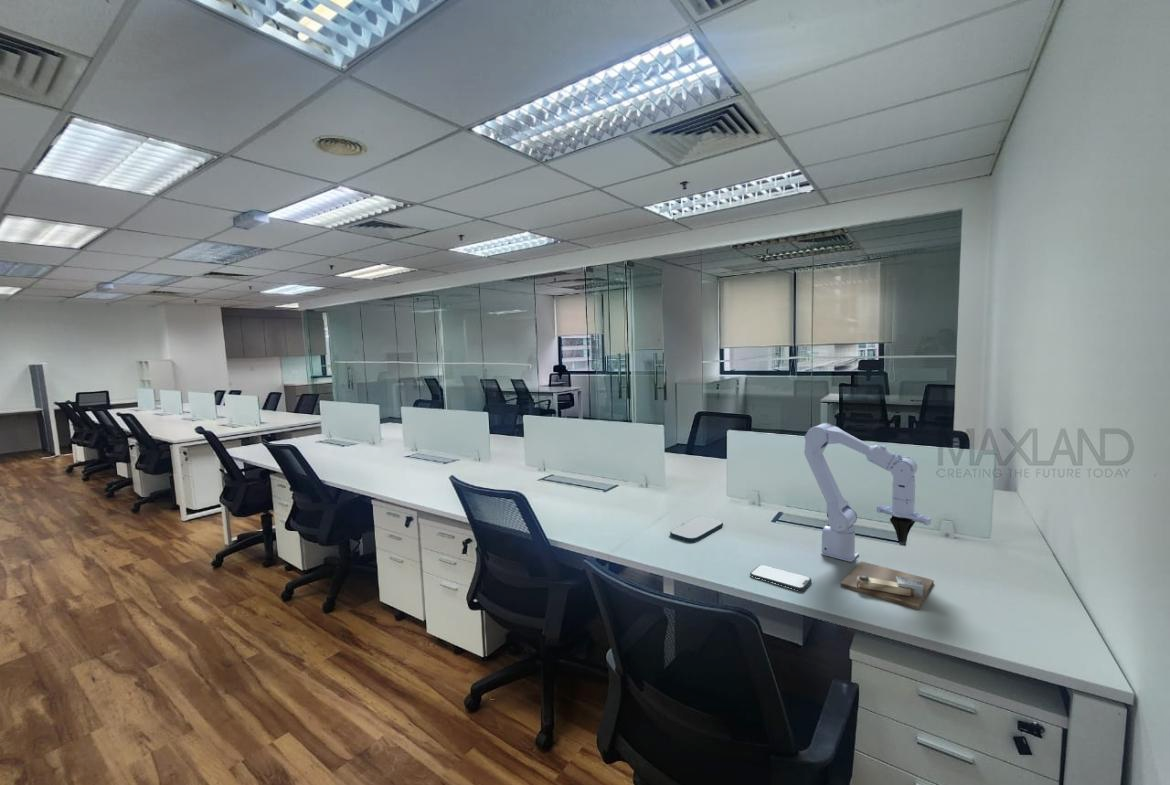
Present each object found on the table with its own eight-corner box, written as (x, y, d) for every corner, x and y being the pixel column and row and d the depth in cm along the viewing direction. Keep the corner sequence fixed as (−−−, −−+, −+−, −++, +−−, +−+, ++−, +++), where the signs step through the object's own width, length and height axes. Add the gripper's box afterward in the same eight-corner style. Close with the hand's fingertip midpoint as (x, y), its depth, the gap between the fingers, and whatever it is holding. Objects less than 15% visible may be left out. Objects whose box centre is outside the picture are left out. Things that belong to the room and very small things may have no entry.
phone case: (748, 578, 149) (802, 594, 139) (748, 573, 149) (802, 589, 138) (760, 568, 156) (812, 582, 145) (760, 563, 156) (812, 577, 145)
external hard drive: (693, 545, 175) (693, 539, 175) (666, 537, 183) (666, 531, 183) (726, 526, 191) (726, 521, 191) (700, 519, 200) (700, 515, 199)
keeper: (897, 595, 134) (898, 583, 133) (895, 588, 138) (895, 576, 137) (923, 599, 131) (923, 587, 131) (920, 591, 135) (920, 579, 135)
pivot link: (856, 587, 138) (856, 578, 138) (856, 582, 141) (856, 573, 141) (910, 597, 132) (911, 587, 132) (909, 591, 135) (909, 581, 135)
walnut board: (840, 586, 142) (840, 582, 141) (861, 564, 155) (861, 561, 155) (918, 609, 128) (918, 606, 128) (933, 583, 141) (933, 580, 141)
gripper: (871, 494, 152) (870, 536, 153) (923, 506, 139) (921, 552, 141) (884, 490, 155) (883, 531, 157) (935, 501, 143) (933, 546, 144)
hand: (902, 541), depth 149 cm, fingers closed
